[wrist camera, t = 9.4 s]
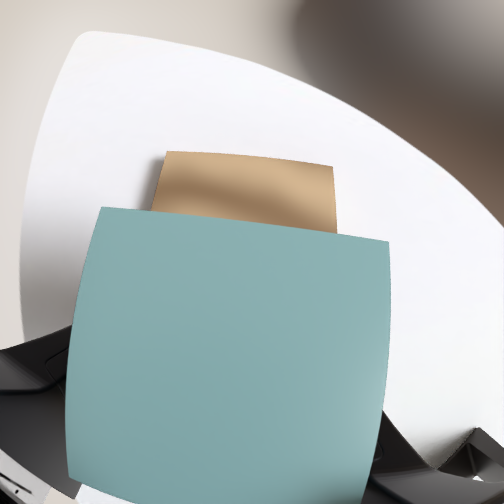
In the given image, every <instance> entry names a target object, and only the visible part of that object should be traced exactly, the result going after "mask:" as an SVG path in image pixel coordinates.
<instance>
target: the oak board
mask: <svg viewBox="0 0 504 504" xmlns="http://www.w3.org/2000/svg"><path fill="white" fill-rule="evenodd" d="M151 211H156V212H166V213H176V214H186V215H195V216H205V217H214V218H222V219H231V220H239V221H248V222H256V223H264V224H271V225H279V226H286V227H294V228H301V229H308V230H315V231H322V232H329V233H336V234H337V219H336V202H335V188H334V176H333V167H332V166H326V165H320V164H313V163H306V162H299V161H292V160H284V159H276V158H267V157H257V156H247V155H235V154H221V153H204V152H179V151H167V153H166V156H165V160H164V163H163V166H162V170H161V173H160V177H159V181H158V184H157V188H156V192H155V196H154V199H153V203H152V207H151Z"/></svg>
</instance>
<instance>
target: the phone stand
mask: <svg viewBox="0 0 504 504" xmlns="http://www.w3.org/2000/svg"><path fill="white" fill-rule="evenodd" d="M437 471H440V472H443V473H447V474H451V475H455V476H459V477H463V478H468V479H473V477H475V476H479V477H480V478H481V479H482V480H483V481H484V482H491V483H497V482H502V481H504V448H503V447H502V446H501V445H500V444H498V443H497V442H496V441H495V440H494V439H493V438H492V437H490V436H489V435H488V434H487V433H486V432H485V431H483V430H482V429H481V428H480V427H478V428H476V429H475V430H474V431H473V432H472V434H471V435H470V436H469V437H468V438H467V439H466V441H465V442H464V443H463V444H462V445H461V446H460V447H459V448H458V449H457V450H456V451H455V453H454V454H453V455H452V456H451V457H450V458H449V459H448V460H447V462H446V463H445V464H443V465H442V466H441V467H440V468H439V469H438V470H437Z"/></svg>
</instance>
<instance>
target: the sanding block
mask: <svg viewBox="0 0 504 504" xmlns="http://www.w3.org/2000/svg"><path fill="white" fill-rule="evenodd" d="M390 317H391V279H390V254H389V242H387V241H381V240H375V239H368V238H362V237H356V236H349V235H343V234H336V233H329V232H322V231H315V230H308V229H301V228H294V227H286V226H279V225H271V224H264V223H256V222H248V221H239V220H231V219H222V218H214V217H205V216H195V215H186V214H176V213H166V212H156V211H146V210H135V209H123V208H111V207H101V210H100V213H99V216H98V219H97V222H96V225H95V228H94V232H93V235H92V238H91V242H90V246H89V249H88V253H87V257H86V261H85V264H84V269H83V273H82V277H81V281H80V286H79V291H78V296H77V301H76V306H75V312H74V318H73V324H72V331H71V338H70V346H69V355H68V365H67V379H66V401H65V430H66V451H67V463H68V473H69V477H70V478H72V479H74V480H76V481H78V482H81V483H83V484H85V485H87V486H90V487H92V488H94V489H97V490H99V491H102V492H104V493H107V494H109V495H112V496H115V497H117V498H120V499H123V500H126V501H129V502H132V503H135V504H360V503H361V500H362V497H363V494H364V491H365V487H366V484H367V480H368V476H369V473H370V469H371V465H372V461H373V456H374V452H375V447H376V443H377V438H378V432H379V427H380V421H381V415H382V409H383V402H384V395H385V387H386V378H387V368H388V356H389V341H390Z"/></svg>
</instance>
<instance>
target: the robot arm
mask: <svg viewBox="0 0 504 504" xmlns="http://www.w3.org/2000/svg"><path fill="white" fill-rule="evenodd" d="M71 331H72V325H70V326H68V327H66V328H64V329H61V330H59V331H56V332H54V333H52V334H49V335H46V336H43V337H40V338H38V339H34V340H31V341H28V342H25V343H22V344H19V345H16V346H13V347H10V348H7V349H2V350H0V504H43V503H44V501H45V499H46V497H47V494H48V493H49V490H50V488H51V487H53V488H54V489H56V490H58V491H59V492H61V493H63V494H65V495H66V496H68V497H70V498H72V499H75V497H76V495H77V493H78V491H79V489H80V487H81V485H82V483H81V482H78V481H76V480H74V479H72V478H70V477H69V473H68V463H67V451H66V430H65V401H66V379H67V365H68V355H69V346H70V338H71ZM360 504H504V481H502V482H497V483H491V482H483V481H478V480H473V479H468V478H463V477H459V476H455V475H451V474H447V473H443V472H440V471H437V470H435V469H434V468H432V467H430V466H429V465H428V464H427V463H426V462H425V461H424V460H423V459H422V458H421V457H420V455H419V454H418V453H417V452H416V451H415V450H414V449H413V447H412V446H411V445H410V444H409V443H408V442H407V441H406V439H405V438H404V437H403V436H402V435H401V433H400V432H399V431H398V430H397V429H396V427H395V426H394V425H393V424H392V422H391V421H390V420H389V418H388V417H387V415H386V414H385V413H384V411H383V410H382V415H381V421H380V427H379V432H378V438H377V443H376V447H375V452H374V456H373V461H372V465H371V469H370V473H369V476H368V480H367V484H366V487H365V491H364V494H363V497H362V500H361V503H360Z"/></svg>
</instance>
